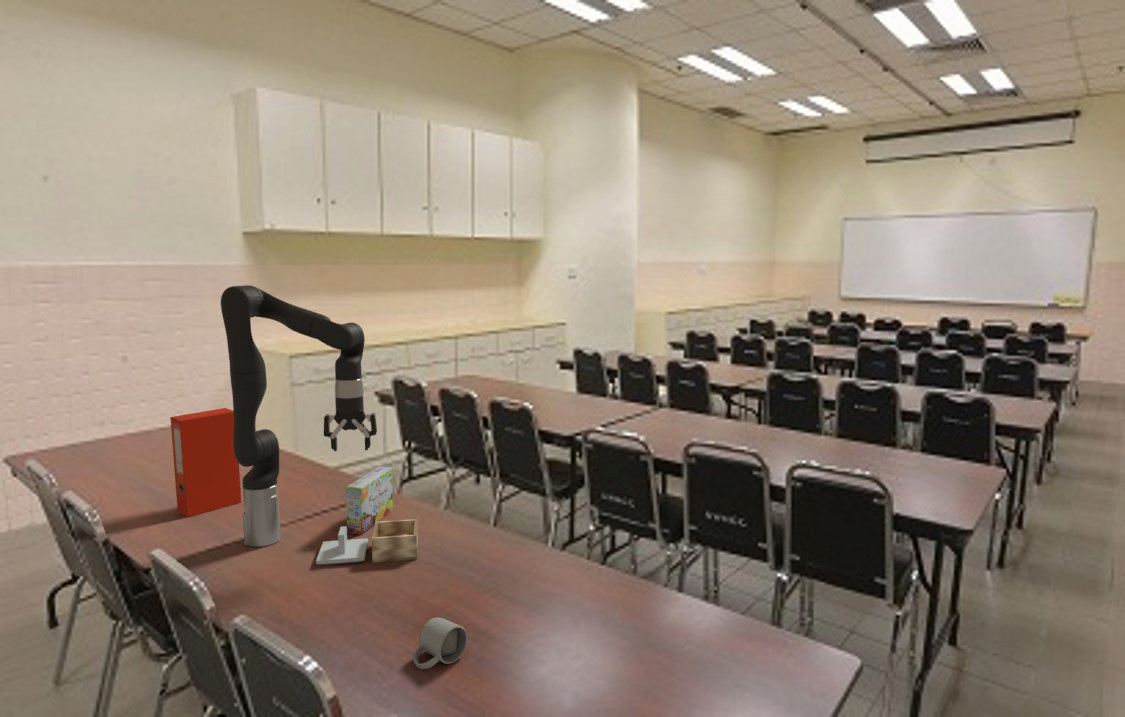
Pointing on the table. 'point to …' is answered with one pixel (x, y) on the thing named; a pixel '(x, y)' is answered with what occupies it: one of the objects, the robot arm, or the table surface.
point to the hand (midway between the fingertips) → (351, 450)
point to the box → (395, 540)
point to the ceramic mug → (441, 642)
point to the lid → (342, 550)
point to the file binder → (205, 461)
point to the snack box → (369, 500)
